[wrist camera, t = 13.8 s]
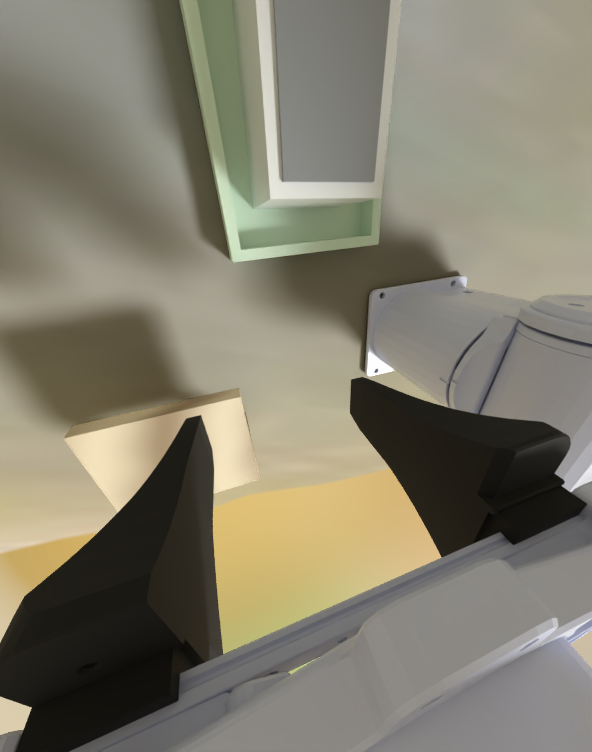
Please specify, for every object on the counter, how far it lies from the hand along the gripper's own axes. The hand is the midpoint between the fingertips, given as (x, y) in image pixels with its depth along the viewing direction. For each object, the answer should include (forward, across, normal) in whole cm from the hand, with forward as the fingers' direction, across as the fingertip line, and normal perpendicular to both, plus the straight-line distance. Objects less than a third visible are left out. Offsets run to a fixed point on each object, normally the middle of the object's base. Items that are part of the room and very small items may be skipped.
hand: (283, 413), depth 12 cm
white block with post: (+9, -4, -15) cm, 18 cm away
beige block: (+9, +6, +3) cm, 12 cm away
